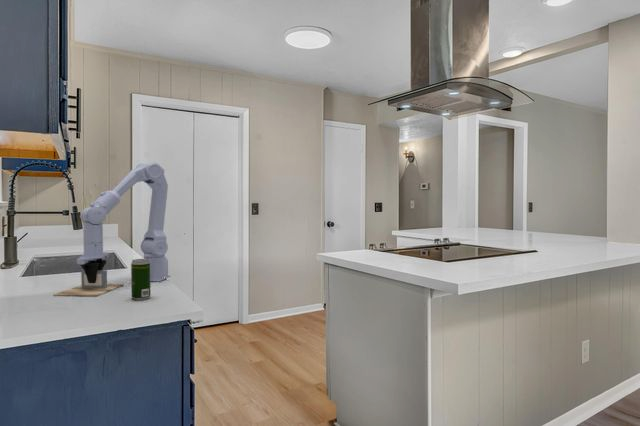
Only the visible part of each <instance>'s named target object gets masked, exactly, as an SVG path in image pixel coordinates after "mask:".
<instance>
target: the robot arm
mask: <svg viewBox="0 0 640 426" xmlns="http://www.w3.org/2000/svg"><path fill="white" fill-rule="evenodd" d="M141 182H144V183H145V184H146V185H148V186H149V188H150V189H151V197H150V205H149V206H150V208H149V217H148V218H149V219H148V227H147V231H146V232H145V233H144V237H143V240H142V242H141V243H140V250H141V252H142V253H143V259H149V261H150V282H161V281H165V280H166V279H168V278H171V275H170V274H169V260H168V258H167V256H165V255H166V253H167V252H168V248H169V247H168V243H167V235H166V234H165V232H164V228H165V226H164V225H165V218H166V217H165V216H166V207H167V201H168V200H167V199H168V191H169V190H168V189H169V185H168V181H167V179H166V177H165V169H164V167H162V166H161V165H160V164H159V163H158V162H147V163H139V164H137V165H136V166H135V167H134V168H132V169H131V170H130V171H129V173H128V174H126V176H125V177H123V179H122V180H121V181H120V182H119V183H118V184H117V185H115V187H114V188H113V189H112V190H106V191H102V192H101V193H99V194H100V196H99V197H98V198H97V199H96V200H95V201H94V202H91V203H90V206H89V207H85V208H83V210H82V211H81V214H80V215H79V218H80V220H81V222H82V223H83V254H82V255H80V257H78V258H76V265H80V266H81V268H82V270H84V271H85V273H86V276H87V280H88V283H95V282H96V276H97V270H103V269H104V267H105V265H106V264H107V260H106V259H109V256H110V255H109V252H104V237H103V236H104V234H103V233H104V227H103V222H105V221H106V218H107V215H108V214H109V213H110V212H111V211H112V210H113V209H115V207H116V206H118V205H119V204H120V203H121V197H122V196H123V195H125V193H126V192H128V190H130V189H131V188H132V187H133V186H134V185H136V184H137V183H141ZM164 277H165V278H166V279H165V278H164Z"/></svg>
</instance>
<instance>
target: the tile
mask: <svg viewBox="0 0 640 426" xmlns="http://www.w3.org/2000/svg"><path fill="white" fill-rule="evenodd" d="M80 273H81V274H80V276H81V285H82V288H96V289H105V288H107V284H108V270H107V269H106V270H105V269H104V270H97V276H96V282H95V283H88V280H87V276H86V273H85V271H84V269H82V270H80Z"/></svg>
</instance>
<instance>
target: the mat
mask: <svg viewBox="0 0 640 426" xmlns="http://www.w3.org/2000/svg"><path fill="white" fill-rule="evenodd" d="M121 287H124V284H123V283H122V284H119V283H118V284H117V283H116V284H115V283H107V288H105V289H96V288H82V284H81V285H78V286H74V287H71V288H69V289H66V290H62V291H60V292H57V293H54V294H53V295H52V296H53V297H87V298H89V297H90V298H91V297H99V296H101V295H103V294H106V293H110V292H111V291H114V290H116V289H119V288H121Z"/></svg>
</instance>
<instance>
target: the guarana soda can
mask: <svg viewBox="0 0 640 426" xmlns="http://www.w3.org/2000/svg"><path fill="white" fill-rule="evenodd" d="M130 263H131V264H130V265H131V267H130V271H131V272H130V277H131V278H130V279H131V281H130V283H131V284H130V285H131V298H132V300H133V301H145V300H149V299H150V297H151V281H150V261H149V259H144V258H136V259H132V260H131V262H130Z"/></svg>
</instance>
